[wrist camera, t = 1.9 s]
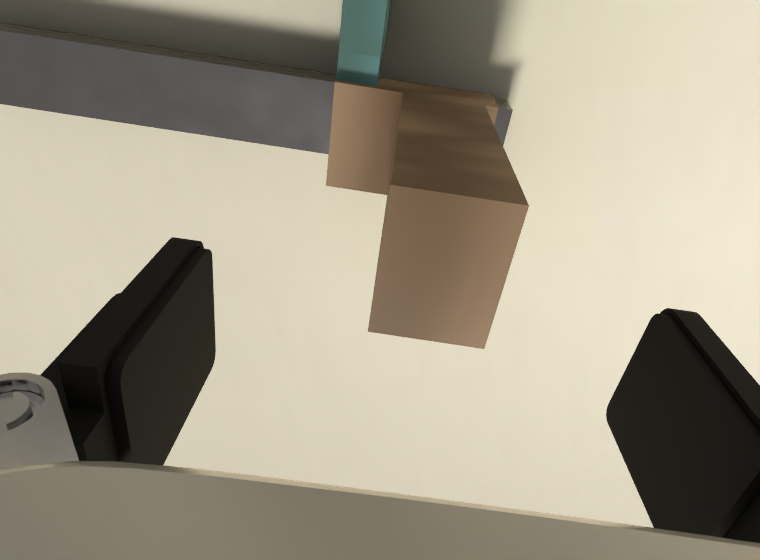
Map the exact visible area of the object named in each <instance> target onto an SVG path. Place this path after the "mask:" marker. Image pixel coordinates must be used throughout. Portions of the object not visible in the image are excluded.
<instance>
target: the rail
mask: <svg viewBox="0 0 760 560" xmlns="http://www.w3.org/2000/svg"><path fill="white" fill-rule="evenodd" d="M336 77H337V75H334V74H328V73H322V72H315V71H309V70H302V69H296V68H289V67H283V66H277V65H270V64H264V63H257V62H251V61H244V60H238V59H231V58H225V57H219V56H212V55H206V54H199V53H193V52H186V51H180V50H174V49H167V48H161V47H154V46H148V45H141V44H135V43H128V42H122V41H116V40H109V39H103V38H96V37H90V36H83V35H77V34H71V33H64V32H58V31H51V30H45V29H38V28H32V27H26V26H19V25H13V24H6V23H0V104H5V105H11V106H18V107H24V108H31V109H37V110H44V111H50V112H57V113H63V114H70V115H76V116H83V117H90V118H96V119H103V120H109V121H116V122H122V123H129V124H135V125H142V126H148V127H155V128H161V129H168V130H174V131H181V132H187V133H194V134H200V135H207V136H213V137H220V138H226V139H233V140H240V141H246V142H253V143H259V144H266V145H272V146H279V147H285V148H292V149H298V150H305V151H311V152H318V153H324V154H329V145H330V133H331V121H332V109H333V97H334V85H335V81H336ZM494 100H495V99H494ZM495 102H496V103H497V105H498V107H499V108H498V112H497V116H496V120H495V124H494V127H495V129H496V132H497V134H498V136H499V139H500V141H501V143H502V145H503V144H504V140H505V136H506V133H507V129H508V125H509V121H510V118H511V114H512V108H511V107H510V105H509V103H508V102H507V101H502V100H495Z"/></svg>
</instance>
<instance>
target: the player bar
mask: <svg viewBox="0 0 760 560" xmlns="http://www.w3.org/2000/svg"><path fill="white" fill-rule="evenodd" d="M390 4H391V0H343V6H342V18H341V30H340V41H339V53H338V65H337V77H336V81H335V85H334V97H333V109H332V121H331V133H330V145H329V157H328V169H327V181H326V186H332V187H339V188H345V189H352V190H358V191H365V192H372V193H378V194H385V195H388V196H387V203H386V210H385V217H384V224H383V231H382V237H381V244H380V251H379V258H378V265H377V272H376V279H375V286H374V293H373V300H372V307H371V314H370V321H369V328H368V332H375V333H381V334H388V335H395V336H401V337H408V338H415V339H422V340H428V341H435V342H442V343H448V344H455V345H462V346H469V347H475V348H482V349H484V348H485V344H486V341H487V338H488V335H489V332H490V328H491V325H492V322H493V319H494V316H495V312H496V309H497V306H498V303H499V300H500V296H501V293H502V290H503V287H504V284H505V281H506V277H507V274H508V271H509V268H510V265H511V261H512V258H513V255H514V252H515V249H516V245H517V242H518V239H519V236H520V233H521V229H522V226H523V223H524V220H525V217H526V213H527V210H528V207H529V205H528V203H527V200H526V198H525V196H524V194H523V191H522V189H521V187H520V184H519V182H518V180H517V178H516V175H515V173H514V171H513V168H512V166H511V164H510V161H509V159H508V157H507V155H506V152H505V150H504V148H503V145H502V143H501V141H500V139H499V136H498V134H497V132H496V129H495V127H494V124H495V120H496V116H497V112H498V108H499V107H498V105H497V103H496V102H495V100H494V98H493V96H492V95H488V94H481V93H475V92H468V91H462V90H456V89H449V88H443V87H436V86H430V85H423V84H417V83H411V82H404V81H398V80H391V79H385V78H379V77H380V69H381V61H382V53H383V49H384V47H385V43H386V35H387V28H388V20H389V12H390Z"/></svg>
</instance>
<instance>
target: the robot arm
mask: <svg viewBox="0 0 760 560" xmlns="http://www.w3.org/2000/svg"><path fill="white" fill-rule="evenodd" d="M215 352H216V349H215V321H214V294H213V267H212V253H211V251H210V250H209V249H204V247H203V244H202V242H201V241H195V240H188V239H181V238H171V239H170V240H169V241H168V242H167V243H166V244H165V245H164V246H163V247H162V248H161V250H160V251H159V252H158V253H157V254H156V255H155V256H154V257H153V258H152V259H151V261H150V262H149V263H148V264H147V265H146V266H145V267H144V268H143V269H142V270H141V272H140V273H139V274H138V275H137V276H136V277H135V278H134V279H133V280H132V281H131V283H130V284H129V285H128V286H127V287H126V288H125V289H124V290H123V291H122V292H121V293H119V294H116V295H115V296H114V297H112V298H111V299H110V300H109V301H108V303H107V304H106V305H105V306H104V307H103V308H102V309H101V310H100V311H99V312H98V313H97V314H96V316H95V317H94V318H93V319H92V320H91V321H90V322H89V323H88V324H87V325H86V326H85V327H84V329H83V330H82V331H81V332H80V333H79V334H78V335H77V336H76V337H75V338H74V339H73V340H72V342H71V343H70V344H69V345H68V346H67V347H66V348H65V349H64V350H63V351H62V352H61V353H60V355H59V356H58V357H57V358H56V359H55V360H54V361H53V362H52V363H51V364H50V365H49V366H48V368H47V369H46V370H45V371H44V372H43V373H42V374H41V375H36V374H31V373H8V374H2V375H0V560H760V385H759V384H758V383H757V382H756V381H755V379H754V378H753V377H752V376H751V375H750V374H749V372H748V371H747V370H746V369H745V368H744V367H743V365H742V364H741V363H740V362H739V361H738V359H737V358H736V357H735V356H734V355H733V354H732V352H731V351H730V350H729V349H728V348H727V347H726V345H725V344H724V343H723V342H722V341H721V339H720V338H719V337H718V336H717V335H716V334H715V332H714V331H713V330H712V329H711V328H710V327H709V325H708V324H707V323H706V322H705V321H704V319H703V318H702V317H701V316H700V315H699V314H698V313H696V312H691V311H684V310H677V309H670V308H667V309H664V310H663V311H662V312H661V313H660V314H655V315H654V316H653V317H652V318H651V320H650V322H649V324H648V326H647V328H646V330H645V332H644V334H643V336H642V338H641V340H640V342H639V344H638V346H637V348H636V350H635V352H634V354H633V356H632V358H631V360H630V362H629V364H628V366H627V368H626V370H625V372H624V374H623V376H622V378H621V380H620V382H619V384H618V386H617V388H616V390H615V392H614V394H613V396H612V398H611V400H610V402H609V404H608V407H607V412H606V417H607V422H608V424H609V427H610V429H611V431H612V434H613V436H614V438H615V440H616V443H617V445H618V447H619V449H620V452H621V454H622V456H623V459H624V461H625V463H626V465H627V468H628V470H629V472H630V474H631V477H632V479H633V481H634V484H635V486H636V488H637V490H638V493H639V495H640V497H641V499H642V502H643V504H644V506H645V508H646V511H647V513H648V515H649V518H650V520H651V522H652V524H653V527H654V528H650V527H642V526H635V525H628V524H621V523H613V522H606V521H599V520H592V519H584V518H577V517H570V516H562V515H555V514H547V513H540V512H532V511H525V510H517V509H510V508H502V507H495V506H487V505H480V504H472V503H464V502H457V501H449V500H442V499H434V498H426V497H419V496H411V495H404V494H396V493H388V492H380V491H372V490H364V489H356V488H348V487H340V486H333V485H325V484H317V483H309V482H301V481H293V480H285V479H277V478H269V477H261V476H253V475H245V474H236V473H228V472H219V471H211V470H202V469H193V468H184V467H173V466H163V464H164V462H165V460H166V458H167V456H168V454H169V452H170V451H171V449H172V447H173V445H174V443H175V441H176V439H177V437H178V435H179V433H180V431H181V429H182V427H183V425H184V423H185V421H186V419H187V417H188V415H189V413H190V411H191V409H192V407H193V405H194V403H195V401H196V399H197V397H198V395H199V393H200V391H201V389H202V387H203V385H204V383H205V381H206V379H207V377H208V375H209V373H210V371H211V369H212V367H213V364H214V360H215Z"/></svg>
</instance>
